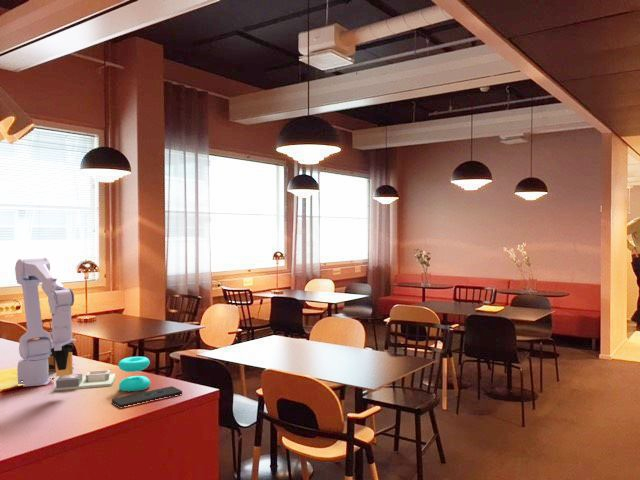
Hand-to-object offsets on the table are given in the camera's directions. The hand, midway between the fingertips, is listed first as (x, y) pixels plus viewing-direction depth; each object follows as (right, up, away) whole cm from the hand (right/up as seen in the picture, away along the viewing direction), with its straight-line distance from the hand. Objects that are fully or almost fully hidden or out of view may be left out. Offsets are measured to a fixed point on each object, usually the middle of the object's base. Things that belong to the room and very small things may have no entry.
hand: (63, 368), depth 177 cm
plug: (0, -2, 0) cm, 2 cm away
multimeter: (-19, -9, +37) cm, 43 cm away
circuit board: (+1, -9, +15) cm, 17 cm away
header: (+4, -9, +17) cm, 20 cm away
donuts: (+21, -9, +6) cm, 24 cm away
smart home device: (+29, -9, -5) cm, 31 cm away
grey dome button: (-3, -9, +10) cm, 14 cm away
